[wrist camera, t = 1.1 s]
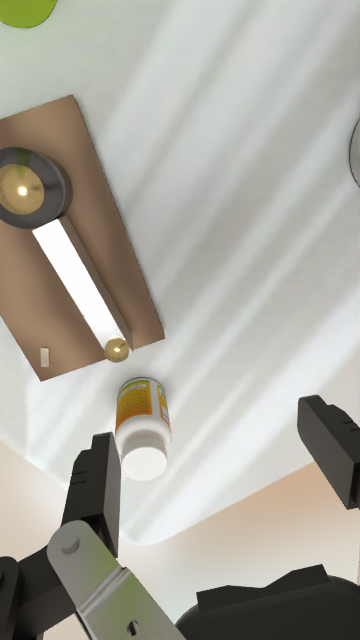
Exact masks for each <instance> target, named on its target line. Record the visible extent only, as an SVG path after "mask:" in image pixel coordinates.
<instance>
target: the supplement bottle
mask: <svg viewBox="0 0 360 640" xmlns="http://www.w3.org/2000/svg"><path fill="white" fill-rule="evenodd" d="M171 439H172V436H171V428H170V422H169V415H168V408H167V402H166V396H165V392H164V390H163V388H162V386H161V385H160V384H159V383H157V382H156V381H154V380H152V379H147V378H138V379H134V380H131V381H129V382H127V383H126V384H125V385H124V386H123V387H122V388H121V390H120V391H119V394H118V399H117V413H116V428H115V443H116V447H117V451H118V453H119V455H120V456H121V467H122V470H123V472H124V474H125V475H126V476H127V477H129V478H130V479H133V480H137V481H147V480H151V479H154V478H156V477H158V476H159V475H161V474H162V473H163V472H164V470H165V469H166V466H167V451H168V450H169V447H170V445H171Z"/></svg>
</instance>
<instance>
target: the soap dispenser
mask: <svg viewBox="0 0 360 640" xmlns="http://www.w3.org/2000/svg"><path fill="white" fill-rule="evenodd" d="M56 1H57V0H0V21H1V22H3V23H5V24H7V25H10V26H13V27H17V28H30V27H34V26H36V25H39V24H40V23H42V22H43V21H44V20H46V19H47V18H48V16H49V15H50V14H51V12H52V10H53V9H54V6H55V4H56Z"/></svg>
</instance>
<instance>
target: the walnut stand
mask: <svg viewBox="0 0 360 640" xmlns="http://www.w3.org/2000/svg"><path fill="white" fill-rule="evenodd" d="M7 147H20V148H25V149H28V150H31V151H34V152H38V153H41V154H44V155H47V156H49V157H51V158H53V159H54V160H56V161H57V162H58V163H59V164H60V165H61V166H62V167H63V168H64V169H65V171H66V172H67V174H68V176H69V178H70V180H71V184H72V189H73V197H72V202H71V205H70V207H69V209H68V210H67V212H66V213H65V214H64V215H63V216H65V215H67V216H68V218H69V220H70V222H71V224H72V226H73V227H74V229H75V231H76V233H77V235H78V237H79V238H80V240H81V242H82V244H83V246H84V248H85V249H86V251H87V253H88V255H89V257H90V259H91V260H92V262H93V264H94V266H95V268H96V269H97V271H98V273H99V275H100V277H101V279H102V280H103V282H104V284H105V286H106V288H107V290H108V291H109V293H110V295H111V297H112V299H113V301H114V302H115V304H116V306H117V308H118V310H119V312H120V313H121V315H122V317H123V319H124V321H125V323H126V324H127V326H128V328H129V330H130V332H131V334H132V335H133V350H134V349H137V348H139V347H142V346H145V345H148V344H151V343H154V342H157V341H160V340H162V339H165V335H164V331H163V328H162V325H161V322H160V320H159V317H158V315H157V312H156V309H155V307H154V304H153V301H152V299H151V296H150V293H149V291H148V288H147V286H146V283H145V280H144V278H143V275H142V272H141V270H140V267H139V264H138V262H137V259H136V257H135V254H134V251H133V249H132V246H131V243H130V241H129V238H128V235H127V233H126V230H125V228H124V225H123V222H122V220H121V217H120V214H119V212H118V209H117V206H116V204H115V201H114V199H113V196H112V193H111V191H110V188H109V185H108V183H107V180H106V177H105V175H104V172H103V170H102V167H101V164H100V162H99V159H98V156H97V154H96V151H95V148H94V146H93V143H92V141H91V138H90V135H89V133H88V130H87V127H86V125H85V122H84V119H83V117H82V114H81V112H80V109H79V106H78V104H77V101H76V100H75V98H74V97H73V95H69V96H66V97H63V98H61V99H58V100H55V101H52V102H49V103H46V104H43V105H41V106H38V107H35V108H32V109H29V110H26V111H23V112H21V113H18V114H15V115H12V116H9V117H6V118H3V119H0V149H3V148H7ZM63 216H61V217H63ZM61 217H60V218H61ZM58 219H59V218H58ZM35 229H37V228H35ZM35 229H21V228H17V227H13V226H11V225H9V224H7V223H5V222H3V221H2V220H1V219H0V315H1V317H2V319H3V320H4V322H5V324H6V325H7V327H8V328H9V330H10V332H11V333H12V335H13V337H14V338H15V340H16V342H17V343H18V345H19V346H20V348H21V350H22V351H23V353H24V355H25V356H26V358H27V360H28V361H29V363H30V364H31V366H32V368H33V369H34V371H35V373H36V374H37V376H38V378H39V379H40V381H41V382H42V381H45V380H48V379H50V378H53V377H56V376H59V375H62V374H65V373H68V372H71V371H73V370H76V369H79V368H82V367H85V366H88V365H91V364H93V363H96V362H99V361H102V360H105V359H107V358H106V356H105V353H104V349H103V348H102V346H101V344H100V343H99V341H98V339H97V338H96V336H95V334H94V333H93V331H92V329H91V328H90V326H89V324H88V323H87V321H86V319H85V318H84V316H83V314H82V313H81V311H80V310H79V308H78V306H77V305H76V303H75V301H74V300H73V298H72V296H71V295H70V293H69V291H68V290H67V288H66V286H65V285H64V283H63V281H62V280H61V278H60V276H59V275H58V273H57V272H56V270H55V268H54V267H53V265H52V263H51V262H50V260H49V258H48V257H47V255H46V253H45V252H44V250H43V248H42V247H41V245H40V243H39V242H38V240H37V238H36V237H35V235H34V234H33V232H32V231H33V230H35Z"/></svg>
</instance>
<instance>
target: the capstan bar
mask: <svg viewBox="0 0 360 640" xmlns="http://www.w3.org/2000/svg"><path fill="white" fill-rule="evenodd" d="M72 197H73V189H72V184H71V180H70V178H69V176H68V174H67V172H66V171H65V169H64V168H63V167H62V166H61V165H60V164H59V163H58V162H57V161H56V160H54V159H53V158H51V157H49V156H47V155H44V154H41V153H38V152H34V151H31V150H28V149H25V148H20V147H7V148H3V149H0V219H1V220H2V221H3V222H5V223H7V224H9V225H11V226H13V227H17V228H21V229H35V228H37V229H35V230H33V231H32V232H33V234H34V235H35V237H36V238H37V240H38V242H39V243H40V245H41V247H42V248H43V250H44V252H45V253H46V255H47V257H48V258H49V260H50V262H51V263H52V265H53V267H54V268H55V270H56V272H57V273H58V275H59V276H60V278H61V280H62V281H63V283H64V285H65V286H66V288H67V290H68V291H69V293H70V295H71V296H72V298H73V300H74V301H75V303H76V305H77V306H78V308H79V310H80V311H81V313H82V314H83V316H84V318H85V319H86V321H87V323H88V324H89V326H90V328H91V329H92V331H93V333H94V334H95V336H96V338H97V339H98V341H99V343H100V344H101V346H102V348H103V349H104V353H105V356H106V358H107V359H108V360H110V361H111V362H112V363H113V362H122V361H124V360H125V359H126V358H127V357H128V356H129V355H131V354H133V335H132V334H131V332H130V330H129V328H128V326H127V324H126V323H125V321H124V319H123V317H122V315H121V313H120V312H119V310H118V308H117V306H116V304H115V302H114V301H113V299H112V297H111V295H110V293H109V291H108V290H107V288H106V286H105V284H104V282H103V280H102V279H101V277H100V275H99V273H98V271H97V269H96V268H95V266H94V264H93V262H92V260H91V259H90V257H89V255H88V253H87V251H86V249H85V248H84V246H83V244H82V242H81V240H80V238H79V237H78V235H77V233H76V231H75V229H74V227H73V226H72V224H71V222H70V220H69V218H68V216H67V215H65V216H63V215H64V214H65V213H66V212H67V210H68V209H69V207H70V205H71V202H72ZM61 216H63V217H61ZM60 217H61V218H60ZM58 218H59V219H58Z"/></svg>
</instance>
